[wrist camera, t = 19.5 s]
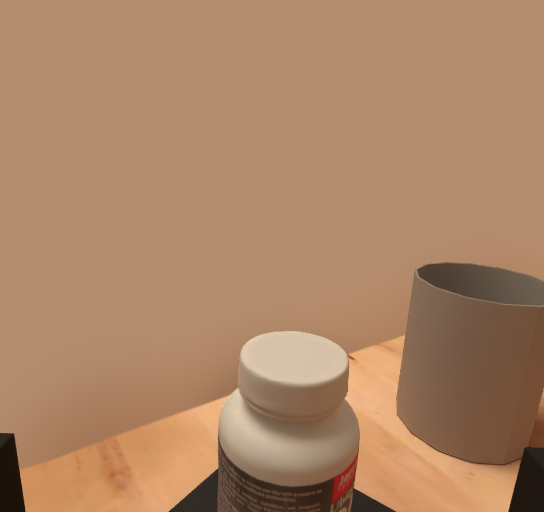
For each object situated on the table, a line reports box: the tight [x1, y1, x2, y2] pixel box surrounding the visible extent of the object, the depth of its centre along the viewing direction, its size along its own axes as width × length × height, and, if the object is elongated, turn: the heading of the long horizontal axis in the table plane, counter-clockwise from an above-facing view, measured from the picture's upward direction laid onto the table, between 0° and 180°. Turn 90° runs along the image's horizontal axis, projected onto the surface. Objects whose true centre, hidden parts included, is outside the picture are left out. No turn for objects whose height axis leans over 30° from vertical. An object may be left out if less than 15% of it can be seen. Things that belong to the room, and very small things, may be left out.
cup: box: [396, 262, 544, 465], centre depth 26 cm, size 8×8×10 cm
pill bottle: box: [217, 331, 360, 512], centre depth 16 cm, size 5×5×10 cm
